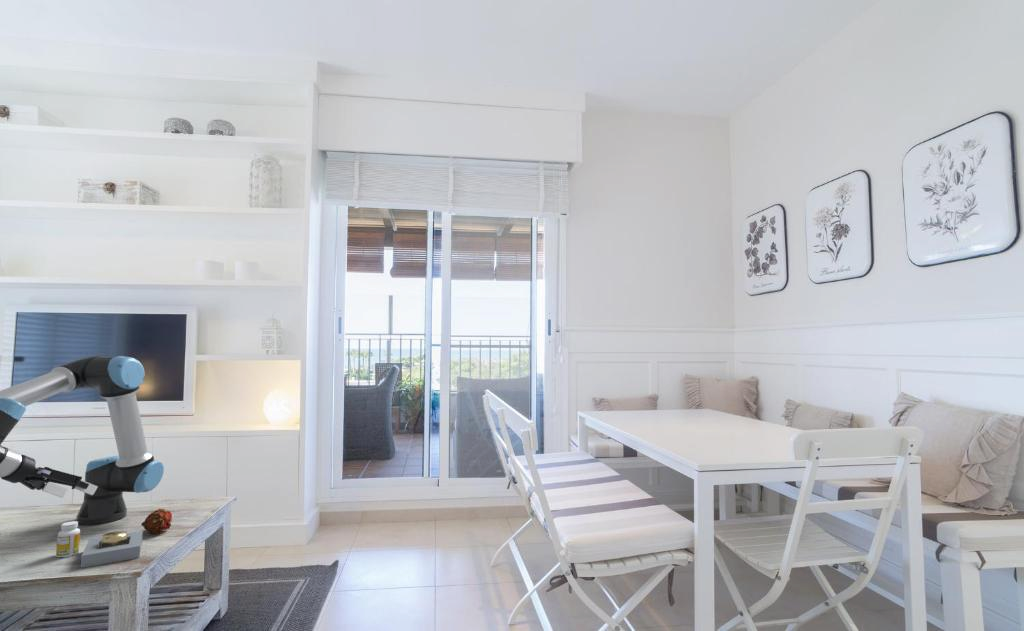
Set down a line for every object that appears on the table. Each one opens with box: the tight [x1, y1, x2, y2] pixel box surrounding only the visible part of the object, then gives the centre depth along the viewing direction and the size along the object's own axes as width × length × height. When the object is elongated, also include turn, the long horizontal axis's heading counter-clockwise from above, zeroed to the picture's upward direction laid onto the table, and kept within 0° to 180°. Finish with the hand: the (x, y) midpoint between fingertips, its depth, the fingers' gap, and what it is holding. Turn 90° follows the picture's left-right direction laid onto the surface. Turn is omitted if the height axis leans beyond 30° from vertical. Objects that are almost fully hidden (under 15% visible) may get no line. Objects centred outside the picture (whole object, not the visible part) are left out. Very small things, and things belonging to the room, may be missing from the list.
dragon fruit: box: [141, 508, 173, 534], centre depth 179 cm, size 8×8×12 cm
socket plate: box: [80, 530, 144, 569], centre depth 159 cm, size 16×14×4 cm
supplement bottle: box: [55, 520, 81, 558], centre depth 158 cm, size 5×5×10 cm
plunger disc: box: [101, 530, 128, 546], centre depth 159 cm, size 6×6×2 cm
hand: (79, 492), depth 161 cm, fingers open, 13 cm apart
